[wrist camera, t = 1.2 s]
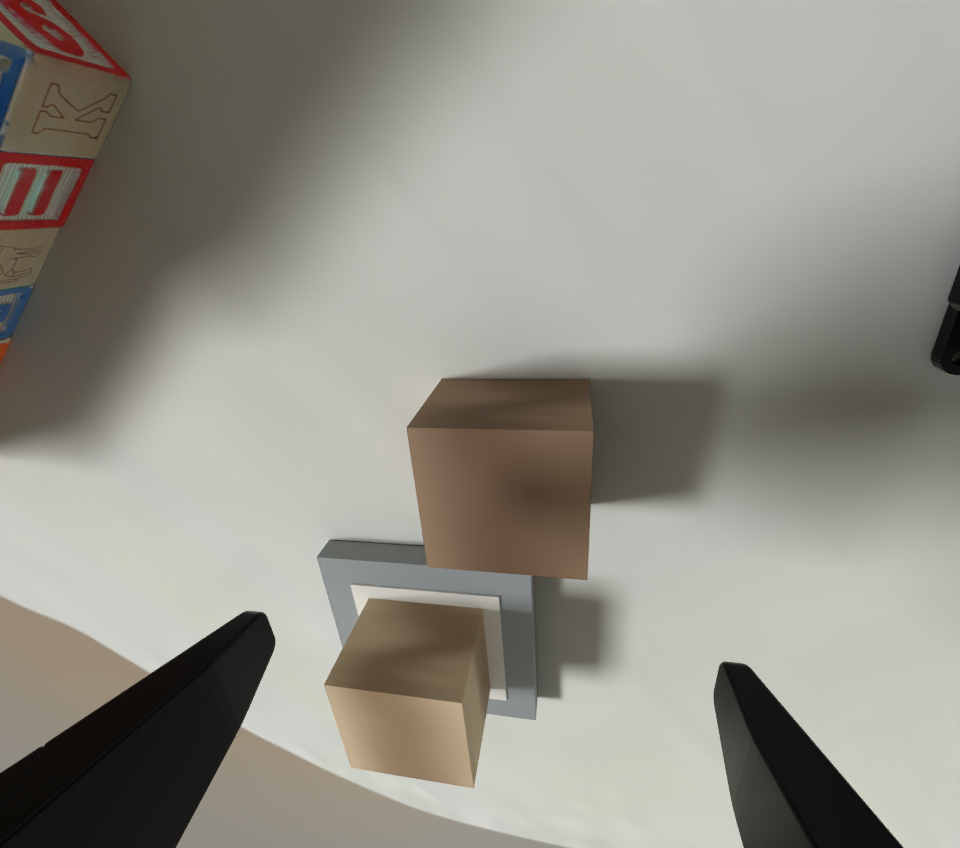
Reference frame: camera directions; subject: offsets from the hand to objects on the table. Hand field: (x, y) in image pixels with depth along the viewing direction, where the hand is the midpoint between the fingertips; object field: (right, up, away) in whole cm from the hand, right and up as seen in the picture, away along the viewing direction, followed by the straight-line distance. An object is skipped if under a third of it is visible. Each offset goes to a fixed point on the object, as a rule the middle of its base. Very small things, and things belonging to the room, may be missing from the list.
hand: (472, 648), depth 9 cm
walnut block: (+1, +4, +8) cm, 9 cm away
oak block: (-2, -5, +11) cm, 13 cm away
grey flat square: (-2, -5, +12) cm, 13 cm away
